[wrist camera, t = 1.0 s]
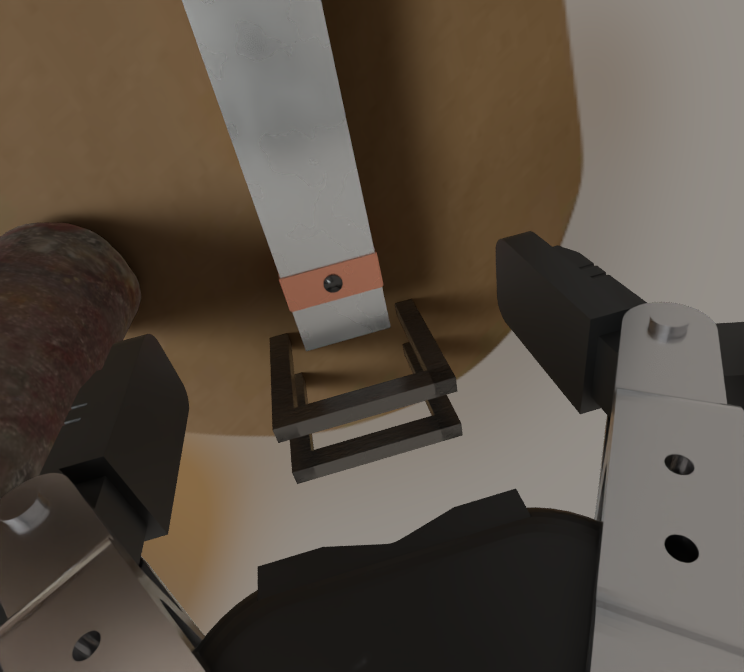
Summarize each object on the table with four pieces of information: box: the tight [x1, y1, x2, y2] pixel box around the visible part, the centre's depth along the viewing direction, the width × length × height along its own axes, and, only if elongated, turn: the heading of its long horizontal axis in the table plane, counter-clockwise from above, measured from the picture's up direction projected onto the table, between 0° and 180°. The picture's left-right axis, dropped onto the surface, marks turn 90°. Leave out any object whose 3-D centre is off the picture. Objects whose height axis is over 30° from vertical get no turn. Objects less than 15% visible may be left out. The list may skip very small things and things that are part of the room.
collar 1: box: [270, 299, 457, 443], centre depth 28 cm, size 1×10×9 cm, turn 101°
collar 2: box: [290, 342, 462, 484], centre depth 30 cm, size 1×10×9 cm, turn 101°
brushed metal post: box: [182, 0, 391, 351], centre depth 24 cm, size 18×5×5 cm, turn 11°
